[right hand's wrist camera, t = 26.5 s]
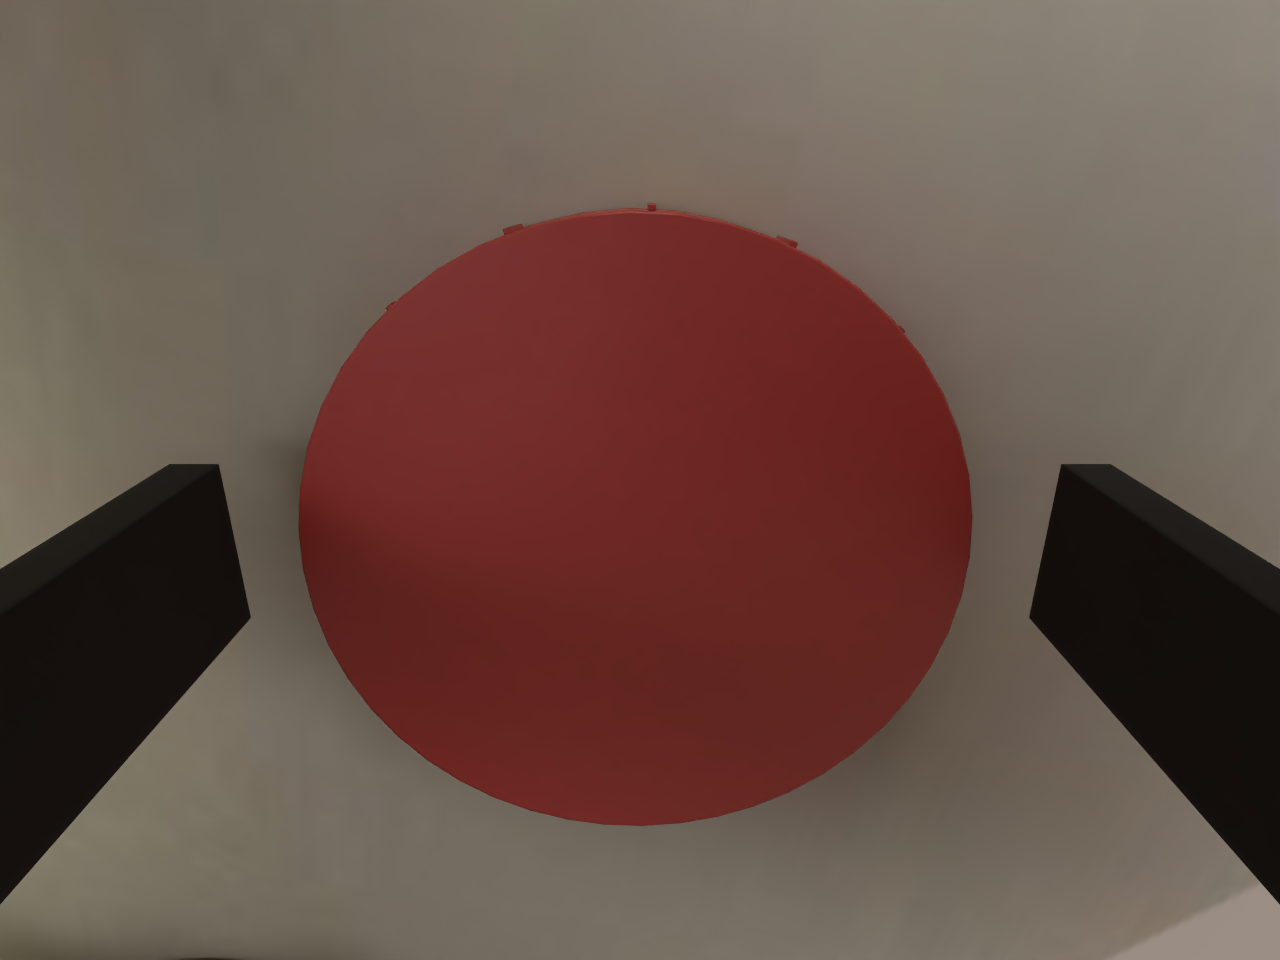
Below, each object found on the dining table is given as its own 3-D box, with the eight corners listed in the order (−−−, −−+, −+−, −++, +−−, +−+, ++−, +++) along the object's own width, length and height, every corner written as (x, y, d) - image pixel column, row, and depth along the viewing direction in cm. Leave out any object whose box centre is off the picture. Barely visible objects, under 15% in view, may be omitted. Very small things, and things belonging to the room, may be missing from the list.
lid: (923, 157, 12) (971, 151, 11) (938, 723, 16) (975, 788, 14) (259, 264, 13) (200, 275, 11) (421, 789, 17) (396, 859, 15)
